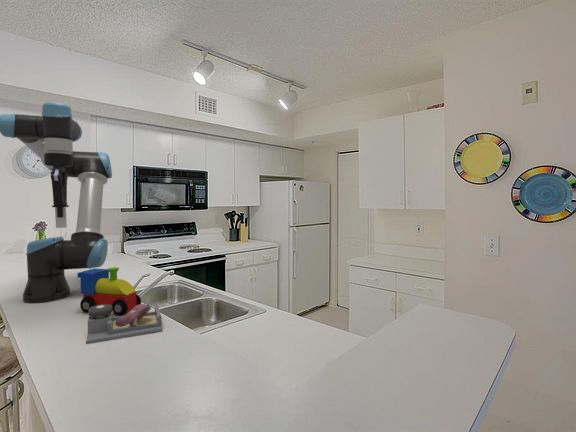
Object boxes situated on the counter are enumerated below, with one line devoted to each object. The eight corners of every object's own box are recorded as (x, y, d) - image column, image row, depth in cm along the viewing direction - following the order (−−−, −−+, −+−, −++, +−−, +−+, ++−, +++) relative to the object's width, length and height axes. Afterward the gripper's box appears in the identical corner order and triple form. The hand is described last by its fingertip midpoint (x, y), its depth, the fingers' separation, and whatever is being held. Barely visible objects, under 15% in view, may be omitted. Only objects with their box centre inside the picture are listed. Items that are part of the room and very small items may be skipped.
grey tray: (91, 323, 102) (91, 309, 102) (157, 314, 110) (157, 300, 110) (86, 343, 88) (85, 327, 87) (162, 331, 96) (161, 316, 96)
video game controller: (124, 334, 95) (137, 317, 94) (112, 324, 95) (125, 306, 94) (144, 321, 104) (156, 305, 103) (134, 312, 105) (145, 295, 104)
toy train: (94, 304, 121) (93, 264, 120) (142, 308, 116) (141, 266, 116) (73, 313, 112) (72, 269, 111) (125, 317, 108) (123, 272, 107)
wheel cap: (90, 324, 97) (89, 305, 97) (113, 321, 100) (112, 302, 100) (87, 332, 92) (87, 311, 92) (112, 328, 95) (111, 308, 94)
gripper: (48, 155, 109) (51, 226, 110) (39, 149, 97) (42, 229, 98) (75, 156, 112) (77, 225, 113) (69, 151, 100) (72, 228, 102)
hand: (61, 227), depth 106 cm, fingers closed
